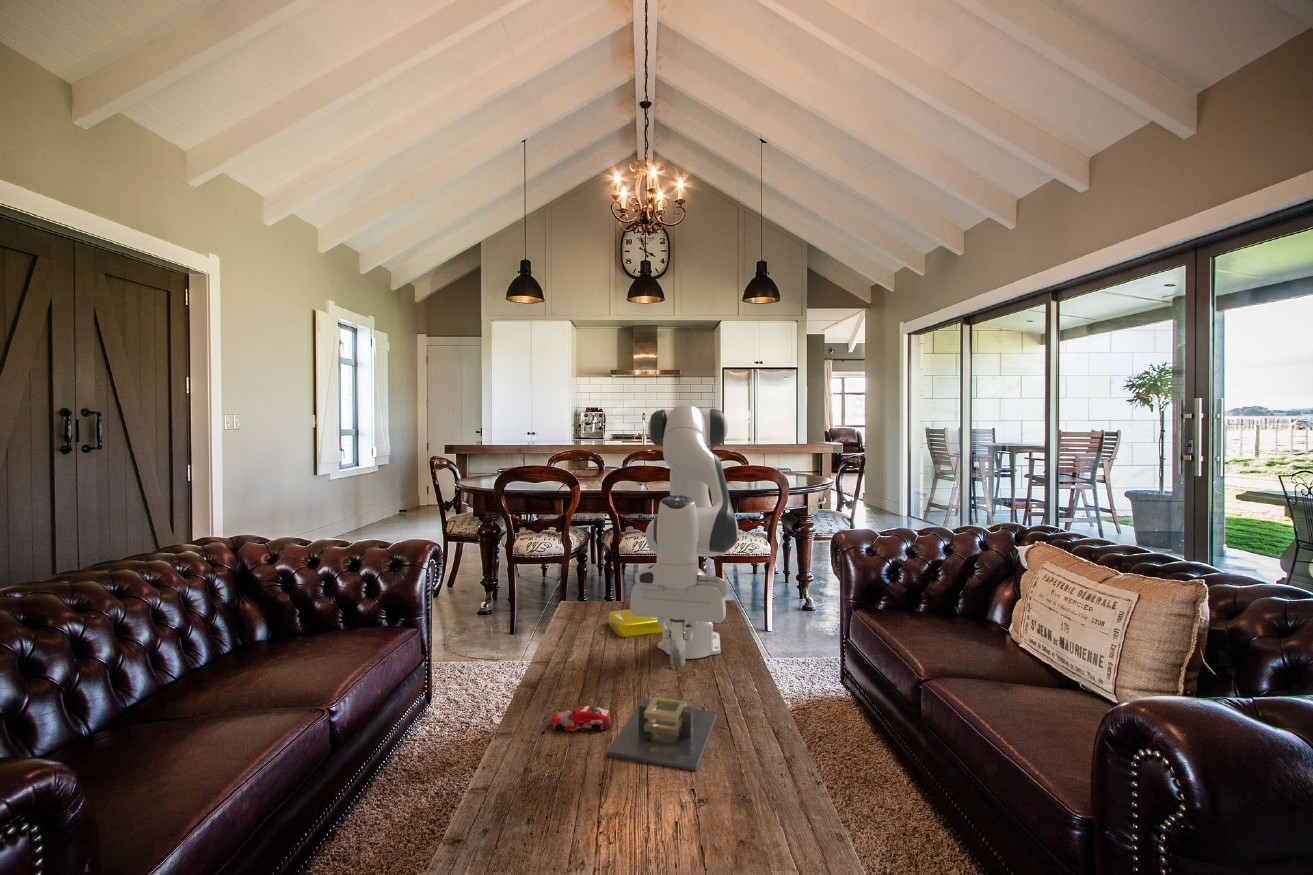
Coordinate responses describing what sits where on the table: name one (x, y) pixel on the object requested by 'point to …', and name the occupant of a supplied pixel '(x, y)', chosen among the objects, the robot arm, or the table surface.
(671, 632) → the metal tube
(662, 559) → the robot arm
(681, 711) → the collar stand
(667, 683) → the table surface
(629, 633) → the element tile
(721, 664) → the table surface
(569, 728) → the race car
